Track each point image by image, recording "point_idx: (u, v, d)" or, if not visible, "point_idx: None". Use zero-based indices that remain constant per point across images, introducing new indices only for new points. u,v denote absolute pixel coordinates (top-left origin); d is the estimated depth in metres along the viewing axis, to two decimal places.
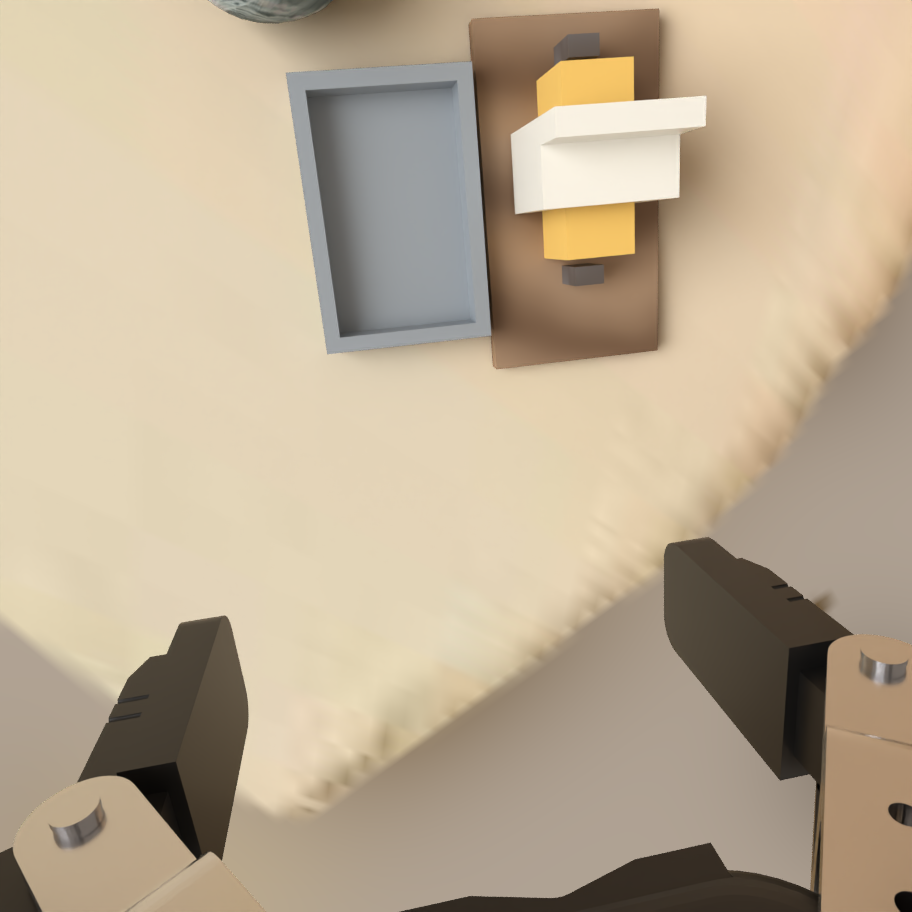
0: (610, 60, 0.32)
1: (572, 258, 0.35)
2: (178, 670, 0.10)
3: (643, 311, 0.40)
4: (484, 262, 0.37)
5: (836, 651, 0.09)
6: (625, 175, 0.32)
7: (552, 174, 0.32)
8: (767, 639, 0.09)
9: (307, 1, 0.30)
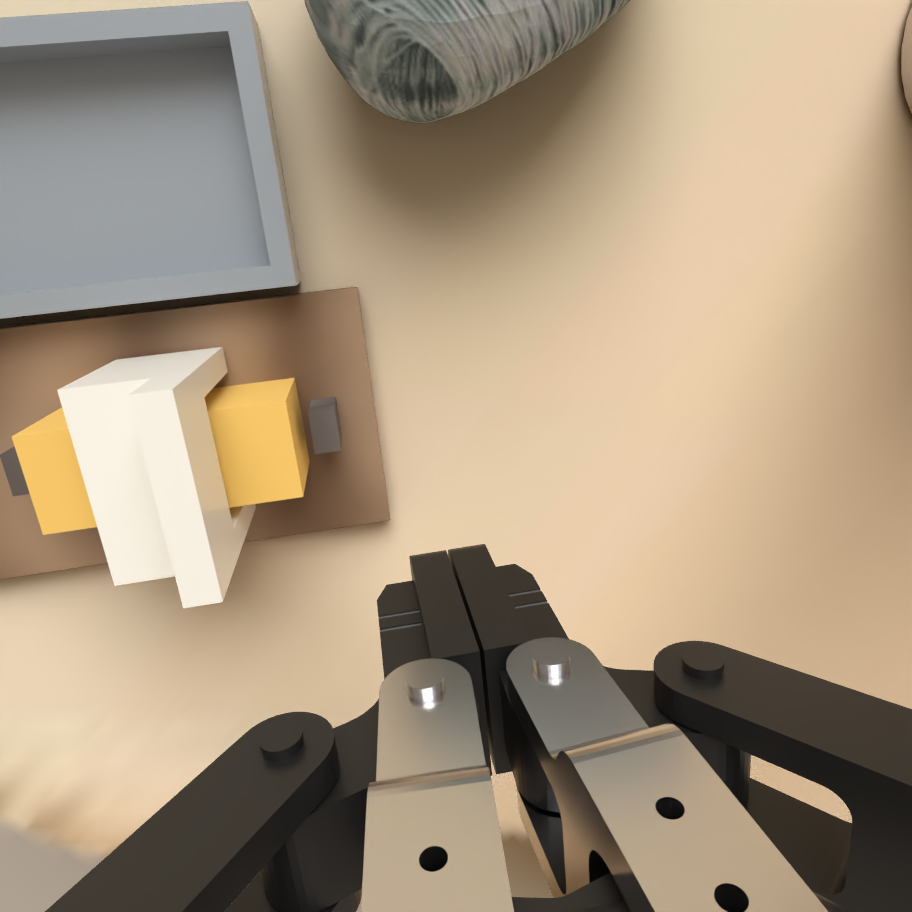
0: (294, 467, 0.24)
1: (15, 444, 0.23)
2: (434, 589, 0.11)
3: (10, 556, 0.28)
4: (21, 313, 0.24)
5: (513, 669, 0.09)
6: (130, 506, 0.22)
7: (112, 399, 0.21)
8: (478, 641, 0.10)
9: (319, 25, 0.21)
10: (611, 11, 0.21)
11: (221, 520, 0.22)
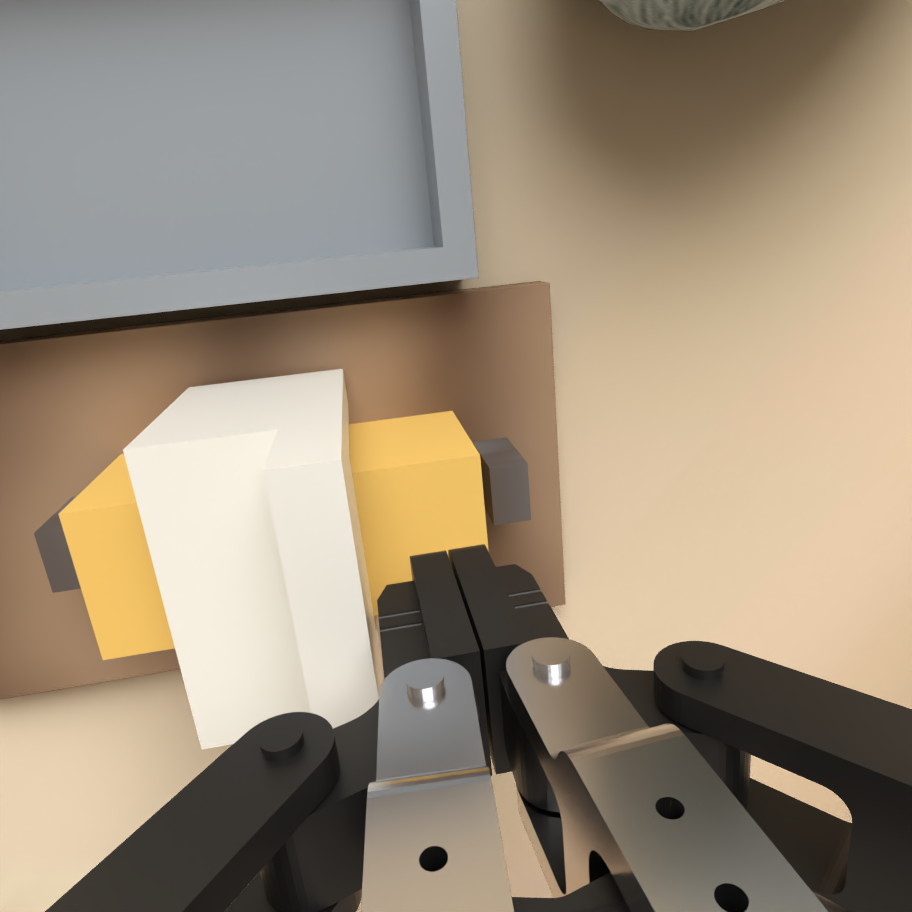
0: None
1: (65, 525, 0.14)
2: (434, 589, 0.11)
3: (42, 664, 0.20)
4: (69, 318, 0.16)
5: (513, 669, 0.09)
6: (233, 631, 0.14)
7: (212, 464, 0.13)
8: (478, 641, 0.10)
9: None
10: None
11: (376, 651, 0.14)
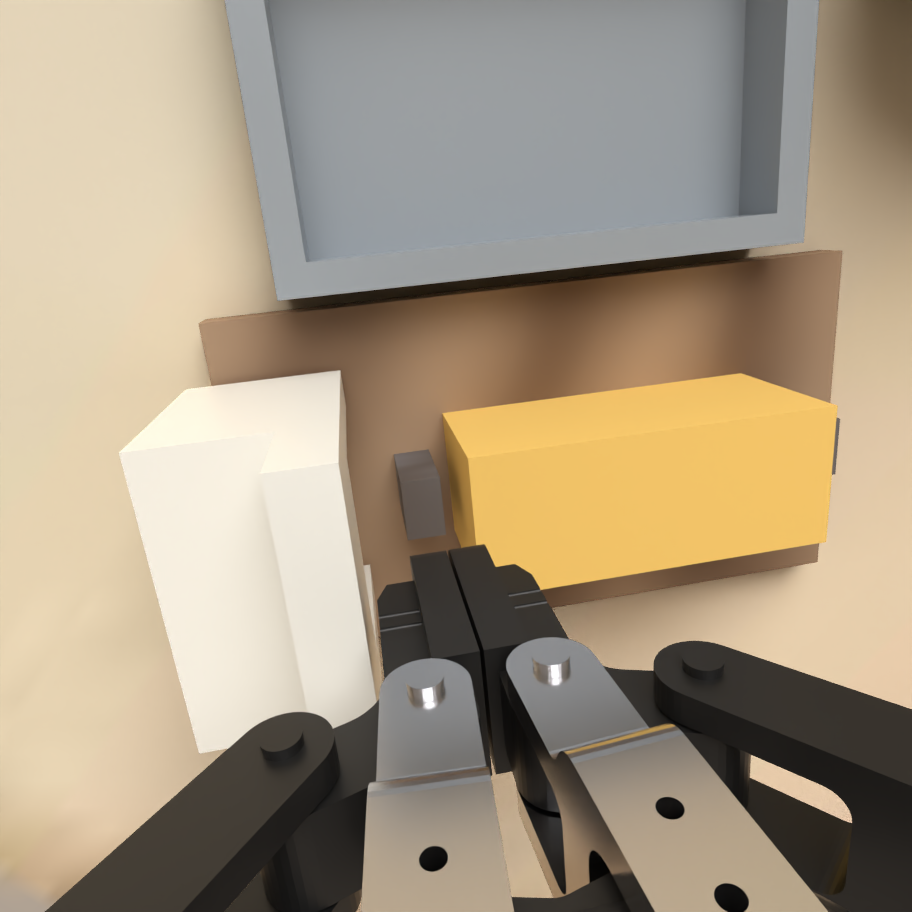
0: (825, 500, 0.17)
1: (471, 469, 0.15)
2: (434, 589, 0.11)
3: None
4: (440, 278, 0.17)
5: (513, 669, 0.09)
6: (230, 634, 0.14)
7: (209, 467, 0.13)
8: (478, 641, 0.10)
9: None
10: None
11: (374, 654, 0.14)
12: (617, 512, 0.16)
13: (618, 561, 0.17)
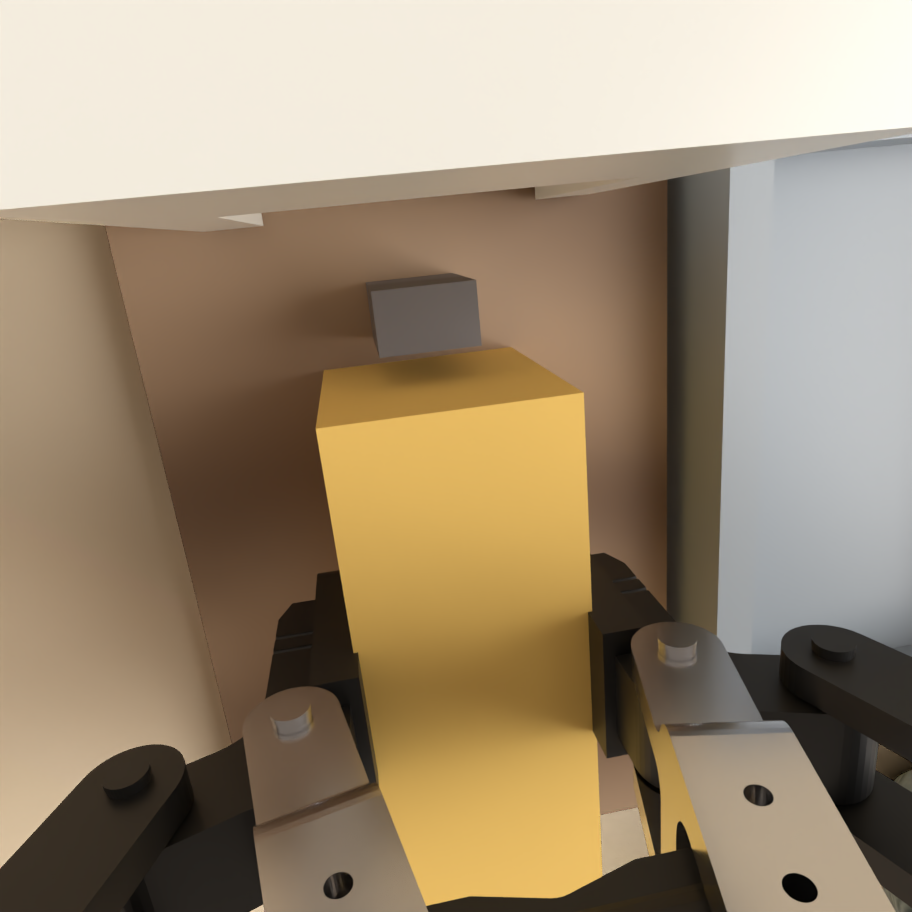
0: None
1: (564, 399, 0.09)
2: (332, 609, 0.11)
3: None
4: (729, 342, 0.12)
5: (637, 645, 0.09)
6: None
7: None
8: (591, 627, 0.10)
9: None
10: None
11: (294, 202, 0.06)
12: (470, 635, 0.10)
13: (383, 651, 0.10)
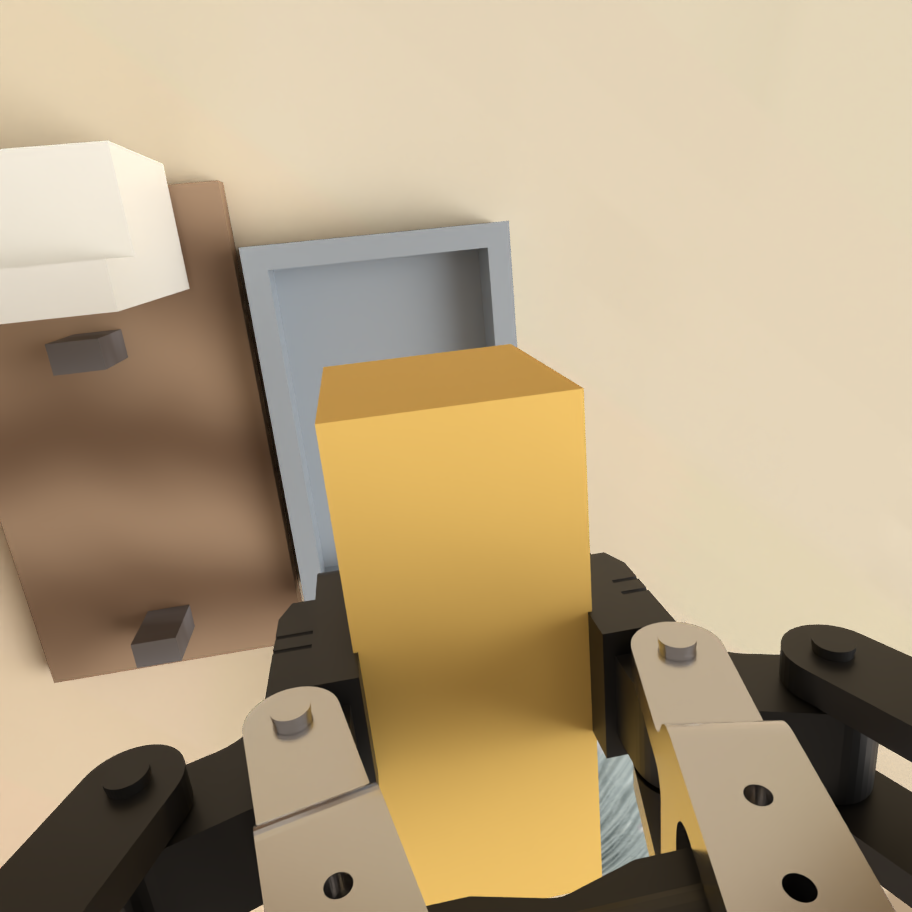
0: None
1: (564, 395, 0.09)
2: (331, 609, 0.11)
3: None
4: (263, 366, 0.24)
5: (638, 646, 0.09)
6: None
7: (102, 206, 0.17)
8: (591, 626, 0.10)
9: None
10: None
11: None
12: (470, 632, 0.10)
13: (382, 648, 0.10)
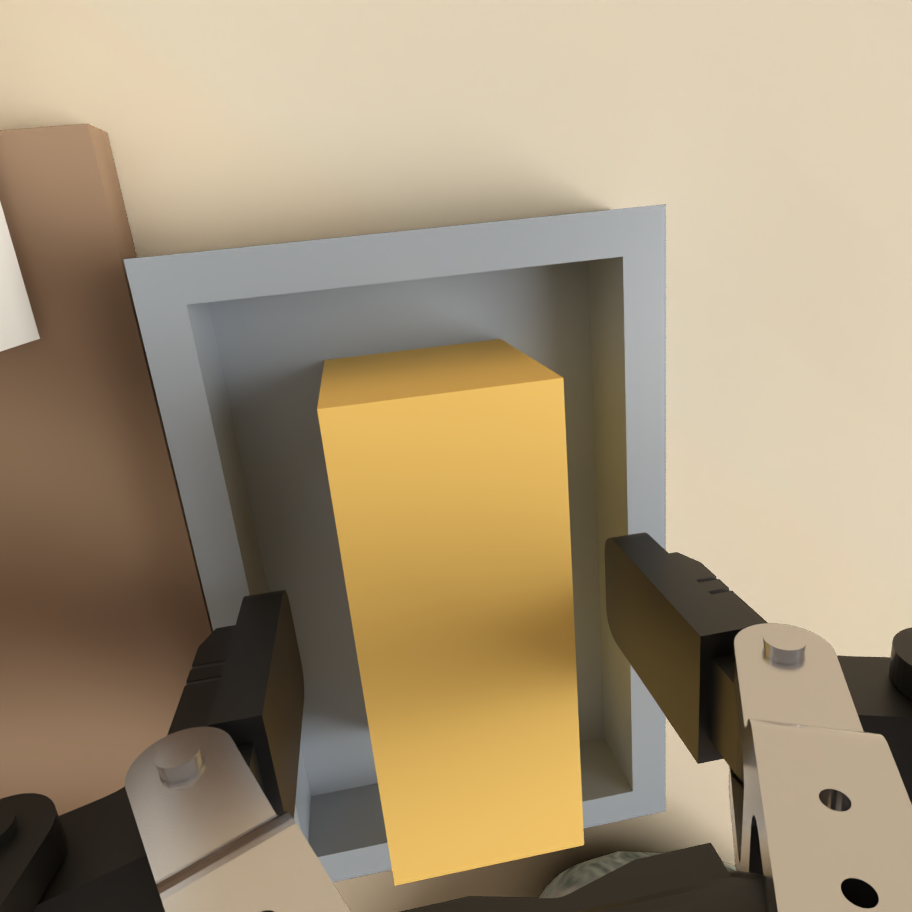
0: (455, 867, 0.13)
1: (545, 384, 0.10)
2: (250, 637, 0.11)
3: None
4: (184, 489, 0.12)
5: (741, 643, 0.09)
6: None
7: None
8: (683, 628, 0.10)
9: None
10: None
11: None
12: (459, 603, 0.11)
13: (378, 617, 0.11)
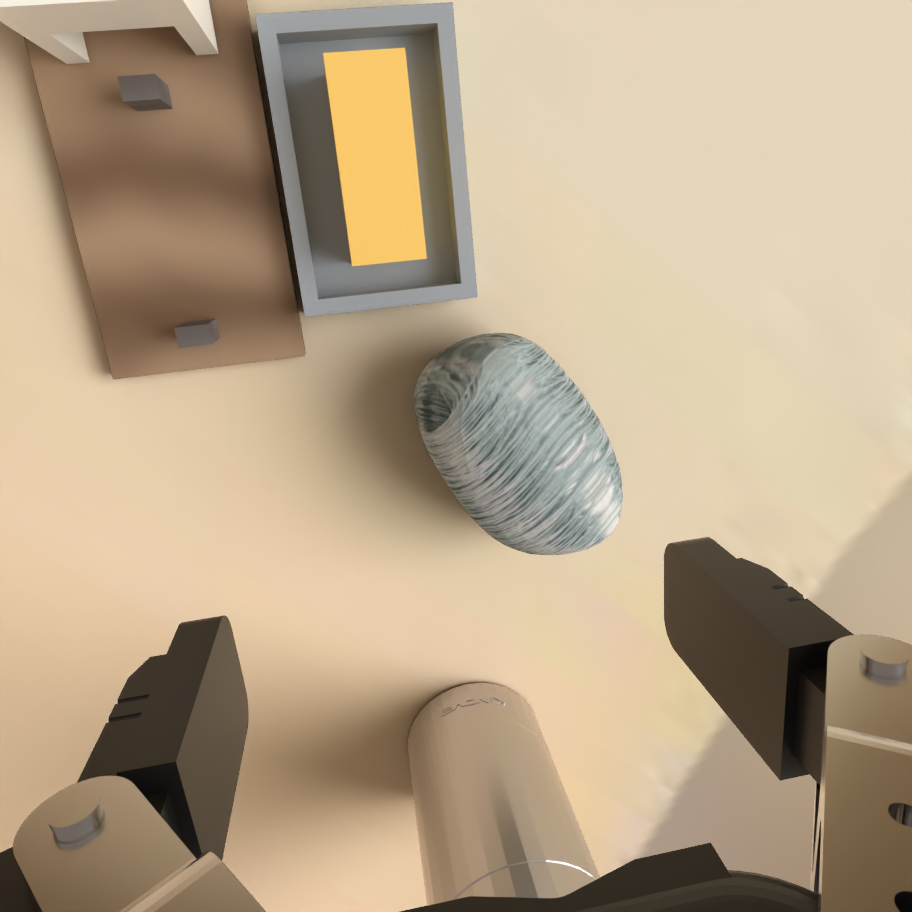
0: (375, 261, 0.33)
1: (399, 49, 0.30)
2: (178, 670, 0.10)
3: None
4: (272, 110, 0.32)
5: (836, 651, 0.09)
6: None
7: None
8: (766, 639, 0.09)
9: (461, 348, 0.34)
10: (472, 517, 0.36)
11: (60, 22, 0.26)
12: (373, 136, 0.31)
13: (344, 138, 0.31)
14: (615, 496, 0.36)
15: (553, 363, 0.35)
